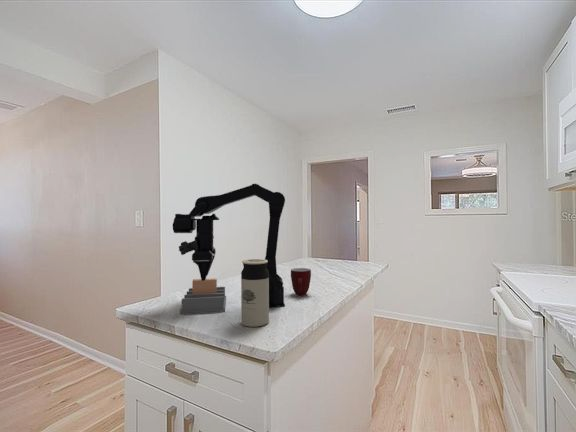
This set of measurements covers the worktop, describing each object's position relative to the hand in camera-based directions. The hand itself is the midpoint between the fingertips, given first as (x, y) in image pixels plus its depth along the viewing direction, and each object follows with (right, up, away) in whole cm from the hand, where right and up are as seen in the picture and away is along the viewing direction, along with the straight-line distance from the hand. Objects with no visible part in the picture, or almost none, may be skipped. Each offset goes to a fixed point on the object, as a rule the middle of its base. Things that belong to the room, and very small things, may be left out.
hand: (204, 277), depth 101 cm
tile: (0, -9, 0) cm, 9 cm away
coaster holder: (0, -10, 0) cm, 10 cm away
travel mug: (+20, -10, -17) cm, 28 cm away
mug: (+34, -10, +13) cm, 38 cm away
